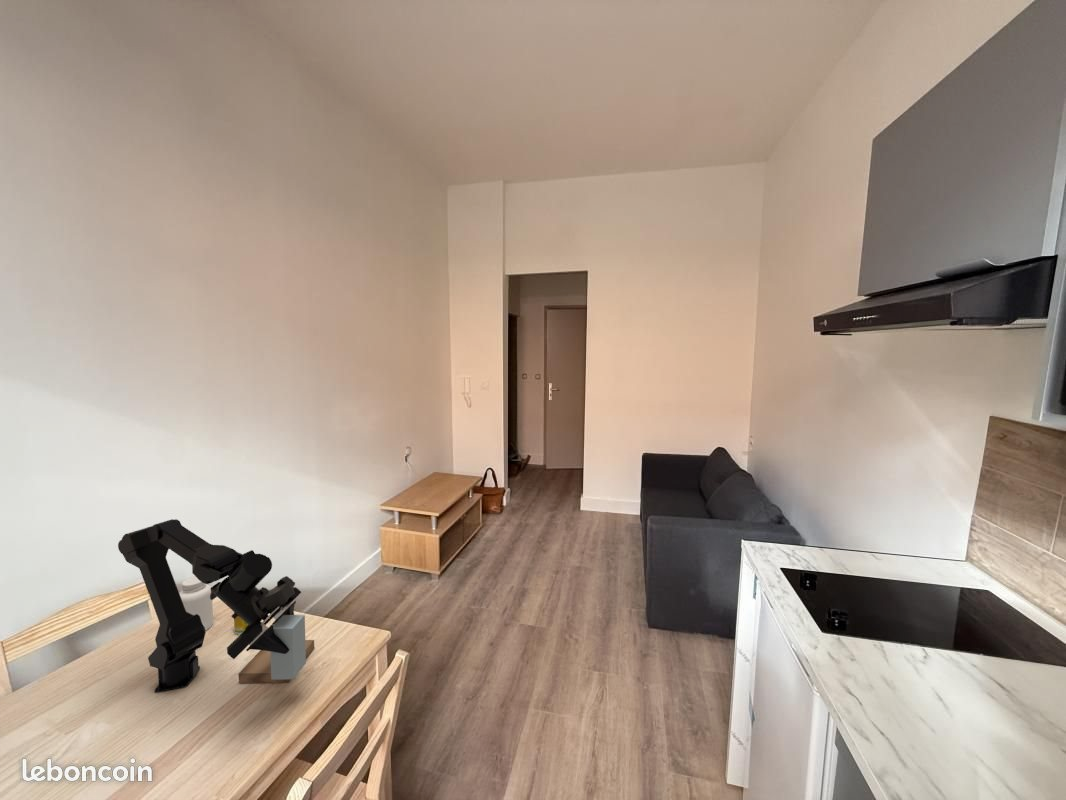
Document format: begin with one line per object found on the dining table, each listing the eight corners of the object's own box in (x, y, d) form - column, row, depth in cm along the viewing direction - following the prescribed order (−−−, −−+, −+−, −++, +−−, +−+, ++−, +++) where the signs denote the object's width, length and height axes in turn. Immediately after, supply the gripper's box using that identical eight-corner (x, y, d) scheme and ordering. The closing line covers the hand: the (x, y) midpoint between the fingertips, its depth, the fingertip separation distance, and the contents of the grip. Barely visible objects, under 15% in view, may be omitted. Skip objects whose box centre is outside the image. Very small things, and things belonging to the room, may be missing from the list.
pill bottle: (183, 641, 110) (181, 590, 109) (173, 631, 114) (171, 582, 113) (218, 626, 117) (216, 578, 116) (207, 617, 121) (205, 570, 120)
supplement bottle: (245, 636, 113) (243, 603, 112) (229, 633, 114) (228, 601, 113) (261, 624, 118) (260, 593, 117) (246, 622, 119) (245, 591, 118)
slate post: (271, 679, 88) (269, 628, 87) (284, 663, 93) (283, 615, 92) (293, 679, 88) (292, 628, 88) (305, 663, 93) (304, 614, 93)
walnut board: (238, 683, 96) (238, 673, 96) (270, 649, 108) (269, 640, 108) (288, 682, 96) (288, 672, 96) (314, 648, 108) (314, 639, 108)
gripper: (239, 597, 80) (296, 648, 81) (292, 555, 98) (337, 597, 100) (201, 634, 80) (258, 684, 81) (261, 585, 99) (306, 627, 100)
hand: (294, 643), depth 90 cm, fingers closed on slate post, 5 cm apart
